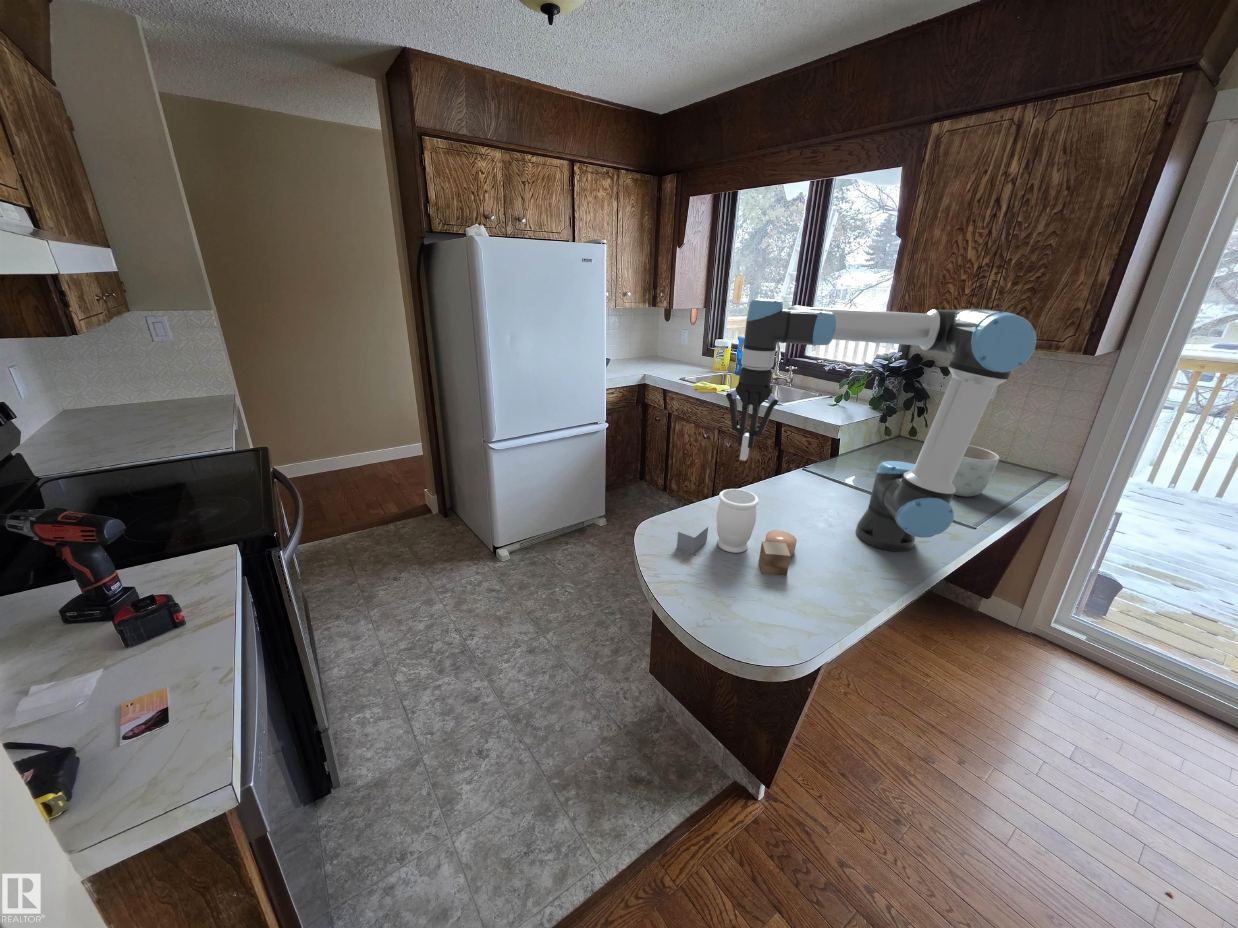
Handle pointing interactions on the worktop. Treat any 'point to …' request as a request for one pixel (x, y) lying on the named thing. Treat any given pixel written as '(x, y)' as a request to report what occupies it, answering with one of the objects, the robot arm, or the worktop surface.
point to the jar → (735, 519)
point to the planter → (974, 471)
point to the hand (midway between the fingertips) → (743, 458)
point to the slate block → (692, 536)
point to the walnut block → (774, 558)
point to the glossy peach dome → (782, 539)
